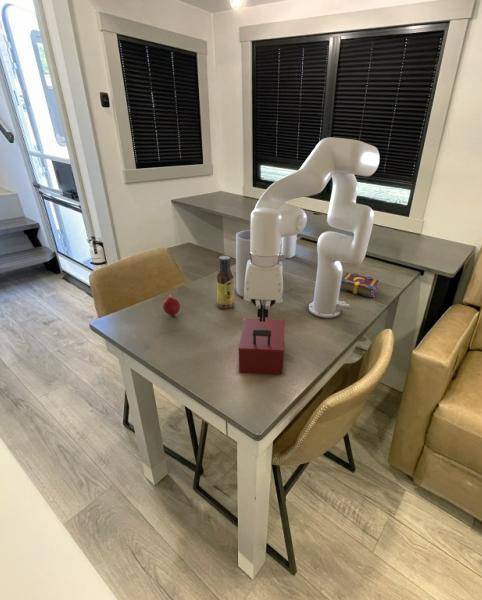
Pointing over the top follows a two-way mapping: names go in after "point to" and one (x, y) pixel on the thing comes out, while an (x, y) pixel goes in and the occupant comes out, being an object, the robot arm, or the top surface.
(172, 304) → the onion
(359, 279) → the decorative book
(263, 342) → the lid
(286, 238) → the paper towel roll
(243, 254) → the cylinder vase
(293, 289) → the top surface
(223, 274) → the sauce bottle
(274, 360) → the red bin
